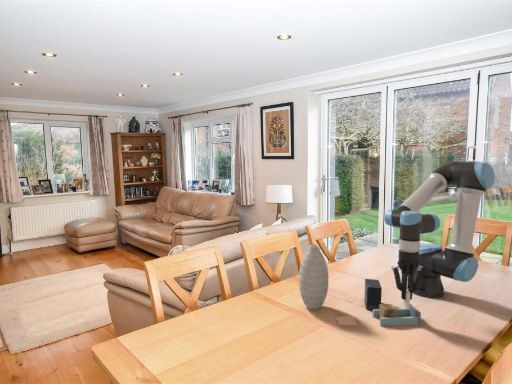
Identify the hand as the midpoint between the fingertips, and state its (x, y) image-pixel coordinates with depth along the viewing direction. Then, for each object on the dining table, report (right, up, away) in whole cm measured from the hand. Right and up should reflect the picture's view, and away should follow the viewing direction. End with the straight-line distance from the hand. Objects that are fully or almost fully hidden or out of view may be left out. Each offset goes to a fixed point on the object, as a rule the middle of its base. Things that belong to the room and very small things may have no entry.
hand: (406, 306), depth 143 cm
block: (-7, -6, +1) cm, 9 cm away
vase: (-35, -5, +14) cm, 38 cm away
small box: (-9, -4, +15) cm, 18 cm away
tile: (-24, -6, 0) cm, 25 cm away
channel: (-4, -6, +1) cm, 7 cm away
